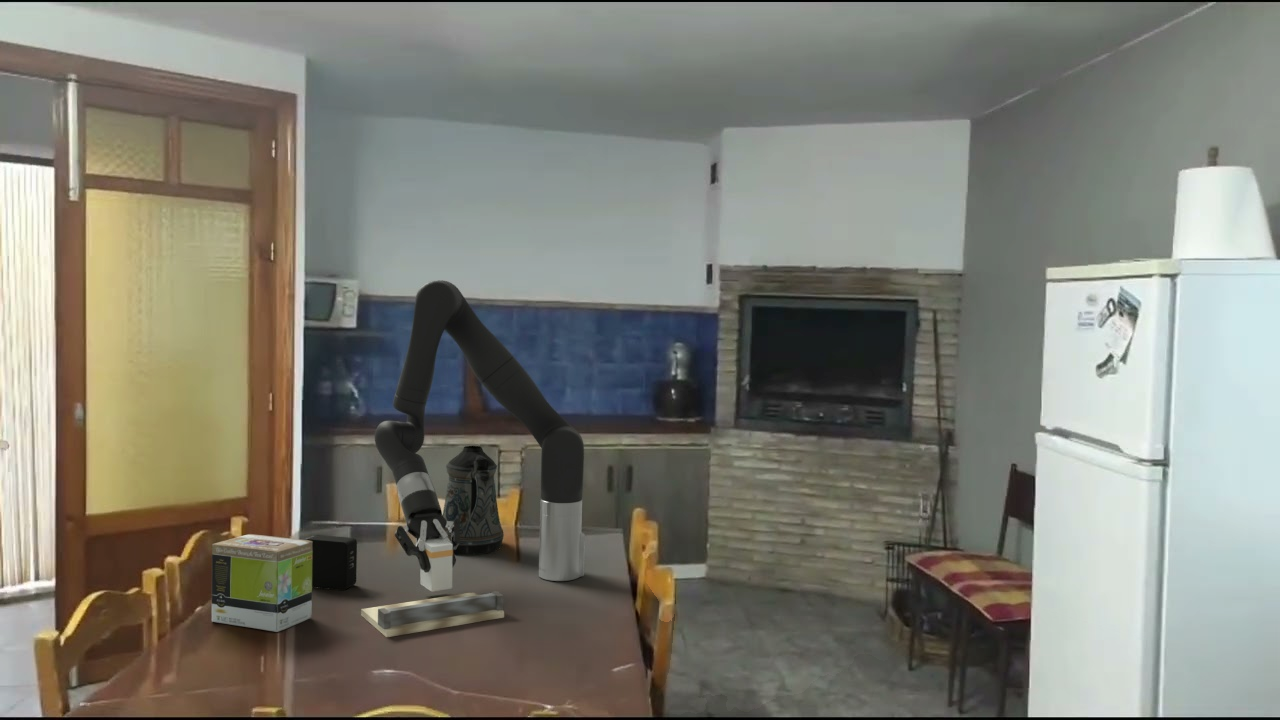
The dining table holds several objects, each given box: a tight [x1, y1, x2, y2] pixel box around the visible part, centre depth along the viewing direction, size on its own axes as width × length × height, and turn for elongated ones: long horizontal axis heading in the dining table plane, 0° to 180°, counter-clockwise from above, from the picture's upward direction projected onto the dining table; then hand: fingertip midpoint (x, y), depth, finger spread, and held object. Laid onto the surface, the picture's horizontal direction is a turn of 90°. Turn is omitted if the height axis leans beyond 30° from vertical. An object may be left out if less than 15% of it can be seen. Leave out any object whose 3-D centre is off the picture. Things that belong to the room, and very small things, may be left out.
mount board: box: [360, 590, 505, 638], centre depth 178 cm, size 23×14×4 cm, turn 125°
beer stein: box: [442, 445, 504, 556], centre depth 231 cm, size 16×19×25 cm
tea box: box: [211, 533, 313, 633], centre depth 173 cm, size 15×10×15 cm, turn 71°
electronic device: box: [305, 534, 358, 591], centre depth 196 cm, size 4×10×10 cm, turn 78°
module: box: [419, 538, 453, 592], centre depth 191 cm, size 4×6×9 cm
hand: (440, 568), depth 189 cm, fingers closed on module, 4 cm apart
